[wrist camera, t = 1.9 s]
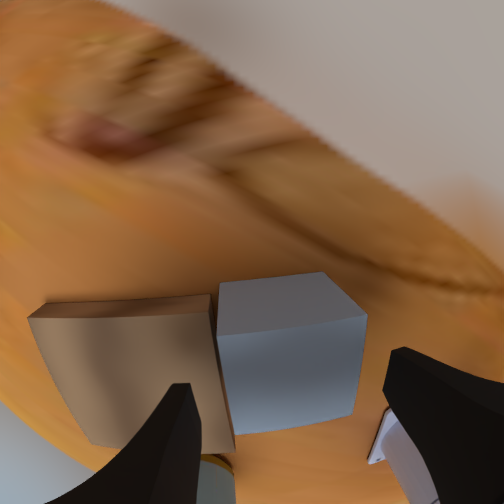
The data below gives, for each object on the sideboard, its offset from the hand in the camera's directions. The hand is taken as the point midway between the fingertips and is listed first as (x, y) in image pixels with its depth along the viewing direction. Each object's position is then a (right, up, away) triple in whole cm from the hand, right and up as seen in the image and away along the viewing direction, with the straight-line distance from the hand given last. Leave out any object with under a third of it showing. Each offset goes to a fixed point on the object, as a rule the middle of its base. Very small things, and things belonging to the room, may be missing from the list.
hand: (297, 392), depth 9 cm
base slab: (-8, -2, +5) cm, 10 cm away
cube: (0, +1, +5) cm, 6 cm away
